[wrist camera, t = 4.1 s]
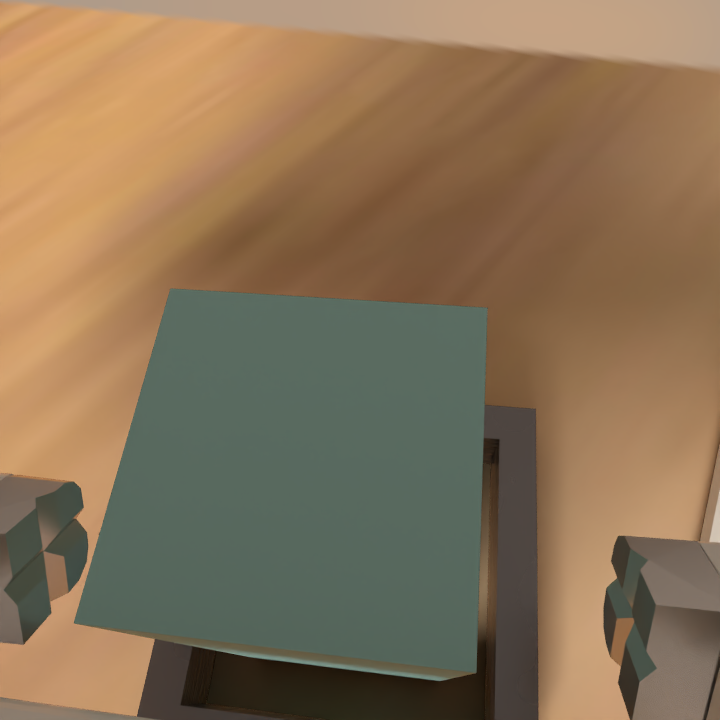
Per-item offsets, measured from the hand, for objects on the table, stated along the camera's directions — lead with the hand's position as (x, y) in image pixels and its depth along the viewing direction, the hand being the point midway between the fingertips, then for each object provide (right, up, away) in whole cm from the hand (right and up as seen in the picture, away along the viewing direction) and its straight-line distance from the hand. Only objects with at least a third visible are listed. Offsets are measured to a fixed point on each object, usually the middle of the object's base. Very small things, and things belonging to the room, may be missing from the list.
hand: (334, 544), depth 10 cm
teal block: (0, -2, +5) cm, 6 cm away
